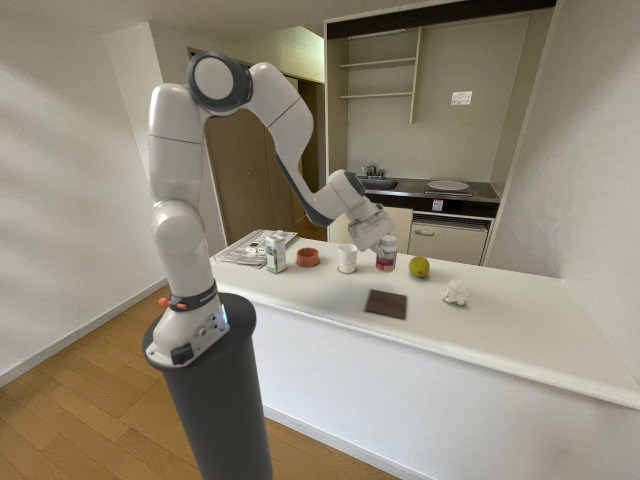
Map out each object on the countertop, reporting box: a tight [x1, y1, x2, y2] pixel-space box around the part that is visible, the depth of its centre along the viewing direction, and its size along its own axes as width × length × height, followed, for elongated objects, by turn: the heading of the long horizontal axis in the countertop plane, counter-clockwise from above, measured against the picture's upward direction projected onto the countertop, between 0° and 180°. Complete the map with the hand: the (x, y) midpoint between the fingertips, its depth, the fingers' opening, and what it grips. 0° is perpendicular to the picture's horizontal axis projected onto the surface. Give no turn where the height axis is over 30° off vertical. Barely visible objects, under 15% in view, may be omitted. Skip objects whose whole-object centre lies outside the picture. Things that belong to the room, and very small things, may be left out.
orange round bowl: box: [296, 247, 320, 268], centre depth 113 cm, size 9×10×4 cm
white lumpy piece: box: [444, 278, 470, 306], centre depth 88 cm, size 6×8×12 cm
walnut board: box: [365, 288, 407, 320], centre depth 87 cm, size 12×12×1 cm
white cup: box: [337, 243, 359, 274], centre depth 105 cm, size 8×8×10 cm
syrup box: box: [265, 234, 287, 274], centre depth 105 cm, size 6×6×14 cm
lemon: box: [408, 255, 431, 278], centre depth 101 cm, size 11×8×8 cm
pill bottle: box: [375, 234, 398, 274], centre depth 81 cm, size 6×6×11 cm
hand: (388, 251), depth 80 cm, fingers closed on pill bottle, 6 cm apart
